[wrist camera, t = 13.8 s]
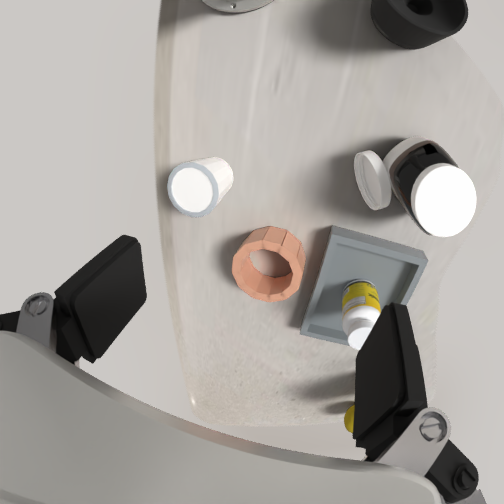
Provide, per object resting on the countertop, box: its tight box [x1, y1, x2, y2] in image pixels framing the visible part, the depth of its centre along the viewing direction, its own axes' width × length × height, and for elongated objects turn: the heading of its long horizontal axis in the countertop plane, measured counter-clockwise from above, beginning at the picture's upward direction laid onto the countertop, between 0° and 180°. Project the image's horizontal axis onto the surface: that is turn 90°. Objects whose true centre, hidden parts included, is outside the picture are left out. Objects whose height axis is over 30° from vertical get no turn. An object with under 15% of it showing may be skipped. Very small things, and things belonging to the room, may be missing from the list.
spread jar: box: [354, 136, 476, 237], centre depth 26 cm, size 12×11×12 cm
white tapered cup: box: [167, 157, 233, 217], centre depth 35 cm, size 7×7×7 cm
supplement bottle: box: [342, 279, 381, 350], centre depth 35 cm, size 5×5×10 cm
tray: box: [300, 225, 428, 346], centre depth 39 cm, size 18×14×3 cm
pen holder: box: [371, 0, 468, 49], centre depth 16 cm, size 9×9×10 cm
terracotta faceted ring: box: [232, 226, 306, 302], centre depth 39 cm, size 9×9×4 cm
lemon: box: [344, 405, 355, 433], centre depth 50 cm, size 6×6×8 cm
